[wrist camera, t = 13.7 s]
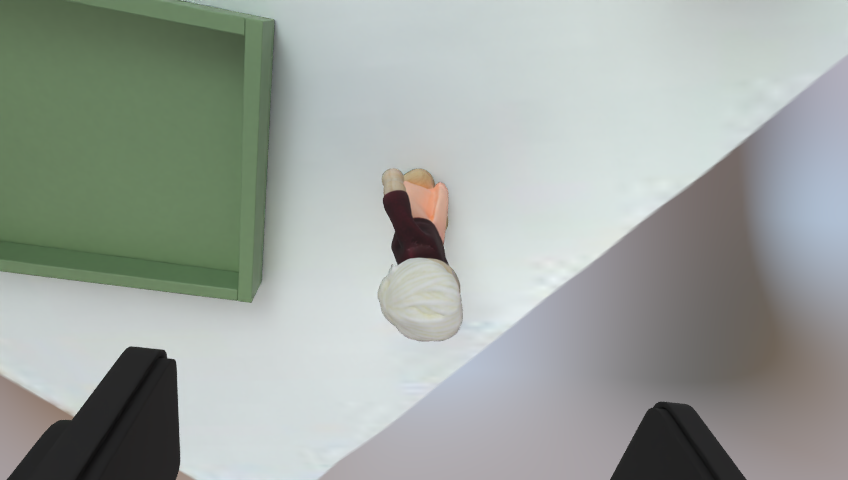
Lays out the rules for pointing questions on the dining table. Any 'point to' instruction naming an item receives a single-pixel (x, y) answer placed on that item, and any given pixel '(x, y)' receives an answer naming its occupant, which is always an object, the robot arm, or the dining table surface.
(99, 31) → the tray
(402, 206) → the grandmother figurine
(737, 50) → the dining table surface
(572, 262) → the dining table surface
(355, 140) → the dining table surface
